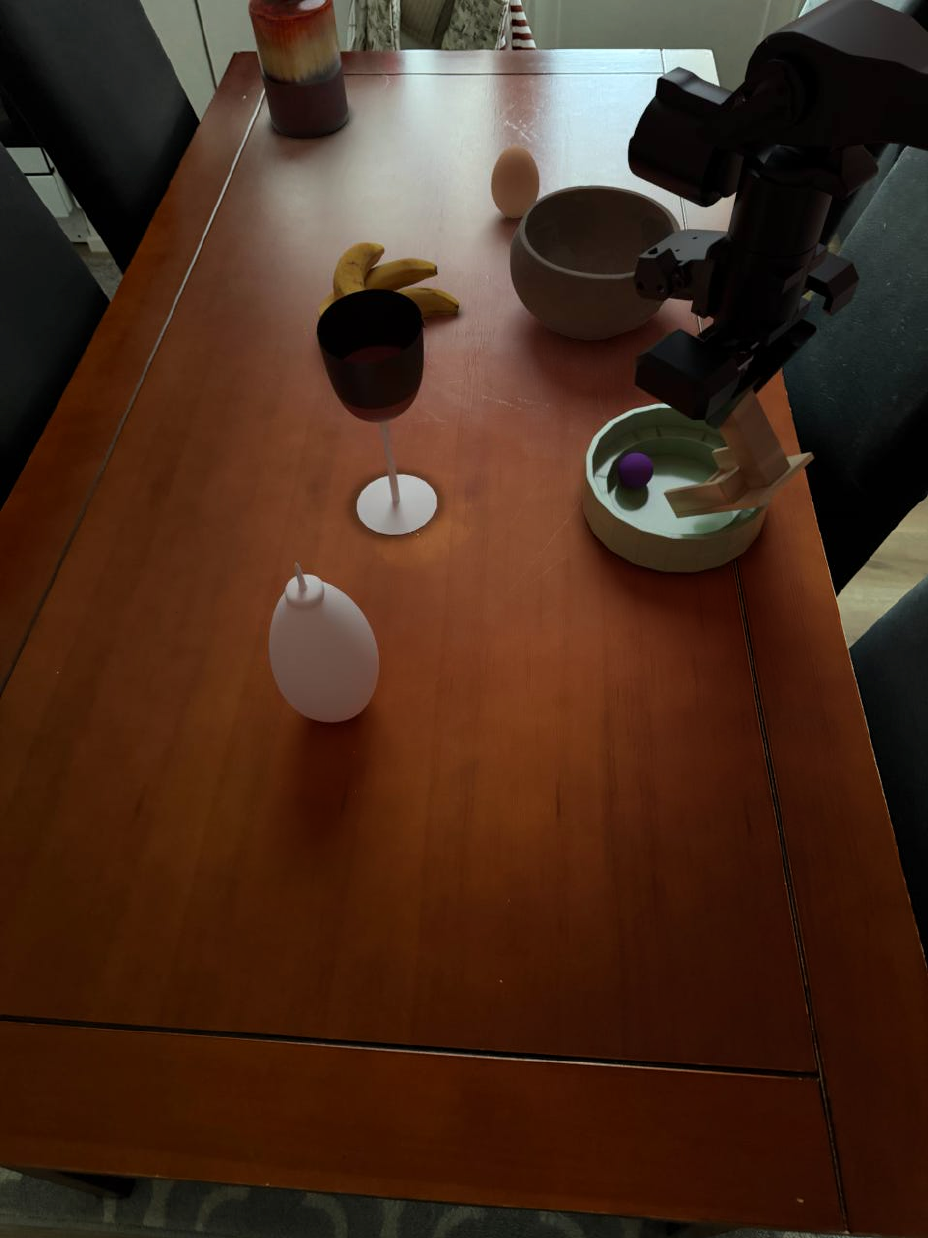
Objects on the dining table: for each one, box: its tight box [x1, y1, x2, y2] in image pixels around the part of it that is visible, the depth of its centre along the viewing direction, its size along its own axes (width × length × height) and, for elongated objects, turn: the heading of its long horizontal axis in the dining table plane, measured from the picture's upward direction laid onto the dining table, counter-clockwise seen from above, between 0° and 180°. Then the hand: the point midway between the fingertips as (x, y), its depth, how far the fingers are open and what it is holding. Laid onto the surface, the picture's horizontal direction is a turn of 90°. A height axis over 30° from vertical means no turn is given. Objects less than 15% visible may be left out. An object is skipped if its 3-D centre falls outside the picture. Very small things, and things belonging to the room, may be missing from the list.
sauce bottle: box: [268, 562, 380, 723], centre depth 65 cm, size 8×8×18 cm
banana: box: [318, 241, 460, 329], centre depth 97 cm, size 15×19×6 cm
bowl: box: [509, 184, 682, 341], centre depth 95 cm, size 17×18×10 cm
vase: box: [247, 0, 350, 139], centre depth 117 cm, size 11×11×20 cm
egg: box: [490, 145, 541, 219], centre depth 107 cm, size 6×6×8 cm
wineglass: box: [316, 289, 438, 536], centre depth 76 cm, size 8×9×20 cm
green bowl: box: [581, 403, 773, 573], centre depth 81 cm, size 16×16×5 cm
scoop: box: [664, 388, 815, 518], centre depth 73 cm, size 10×7×13 cm
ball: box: [618, 453, 654, 488], centre depth 83 cm, size 3×3×3 cm
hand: (725, 415), depth 71 cm, fingers closed on scoop, 3 cm apart
